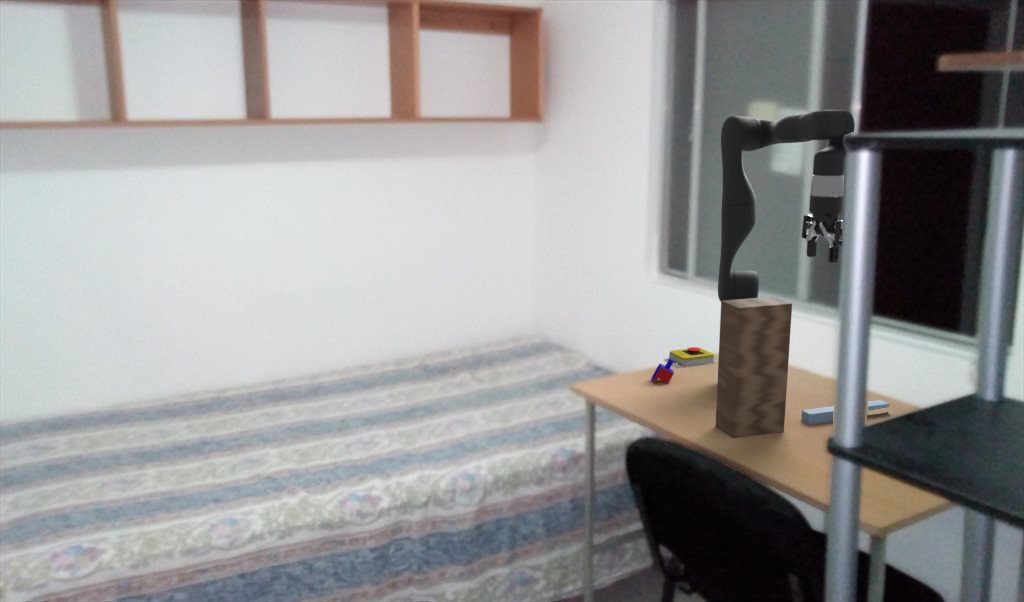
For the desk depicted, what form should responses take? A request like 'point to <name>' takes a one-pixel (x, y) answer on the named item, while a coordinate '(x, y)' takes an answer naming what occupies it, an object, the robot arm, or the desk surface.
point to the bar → (827, 412)
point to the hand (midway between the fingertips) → (821, 259)
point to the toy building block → (663, 372)
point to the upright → (753, 366)
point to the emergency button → (691, 357)
